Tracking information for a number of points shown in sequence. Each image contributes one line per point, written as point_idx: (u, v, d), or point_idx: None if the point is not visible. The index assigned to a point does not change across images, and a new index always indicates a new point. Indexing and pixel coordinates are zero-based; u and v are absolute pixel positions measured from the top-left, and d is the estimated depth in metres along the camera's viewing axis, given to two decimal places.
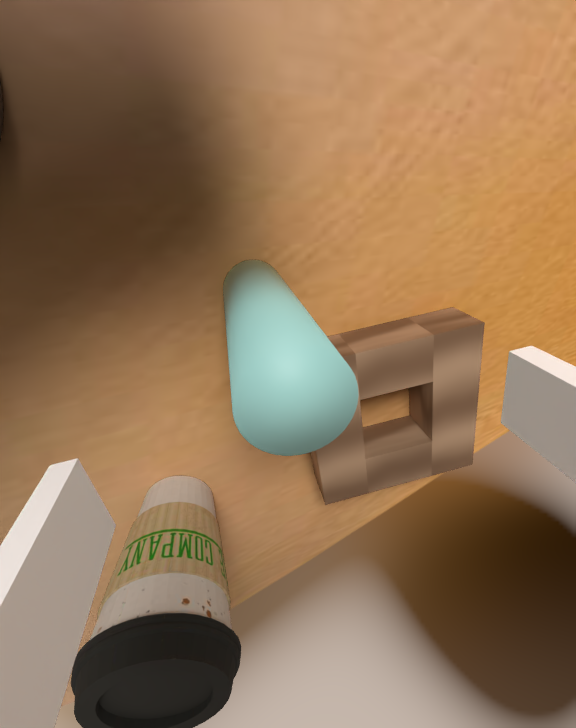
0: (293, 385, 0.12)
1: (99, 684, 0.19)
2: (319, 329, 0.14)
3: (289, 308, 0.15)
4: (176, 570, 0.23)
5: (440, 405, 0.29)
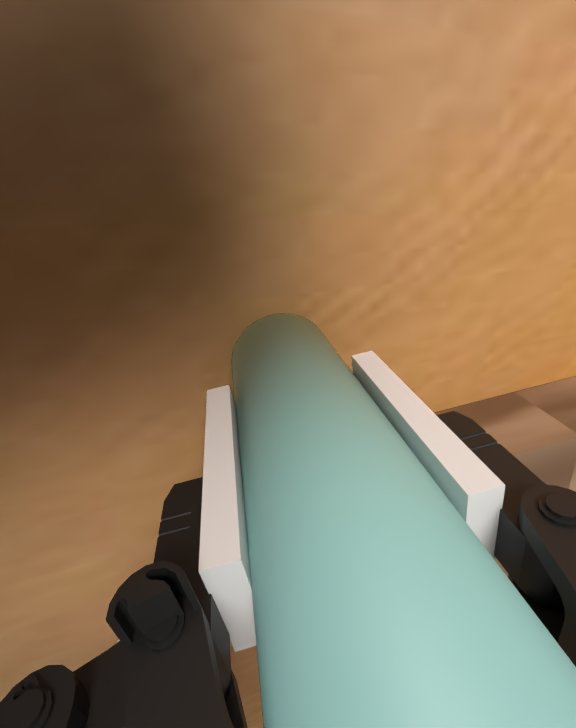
0: None
1: None
2: None
3: (462, 585, 0.05)
4: None
5: None
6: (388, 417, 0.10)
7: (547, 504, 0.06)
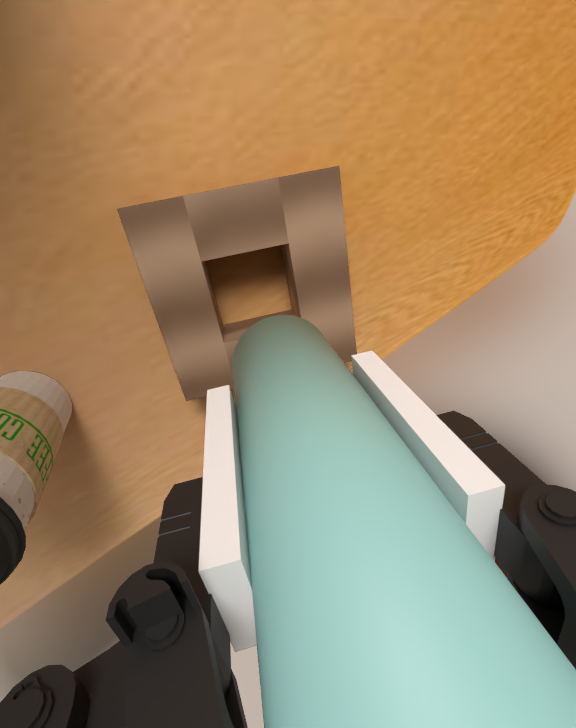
0: None
1: None
2: None
3: (465, 592, 0.05)
4: None
5: (303, 276, 0.26)
6: (388, 417, 0.10)
7: (547, 504, 0.06)
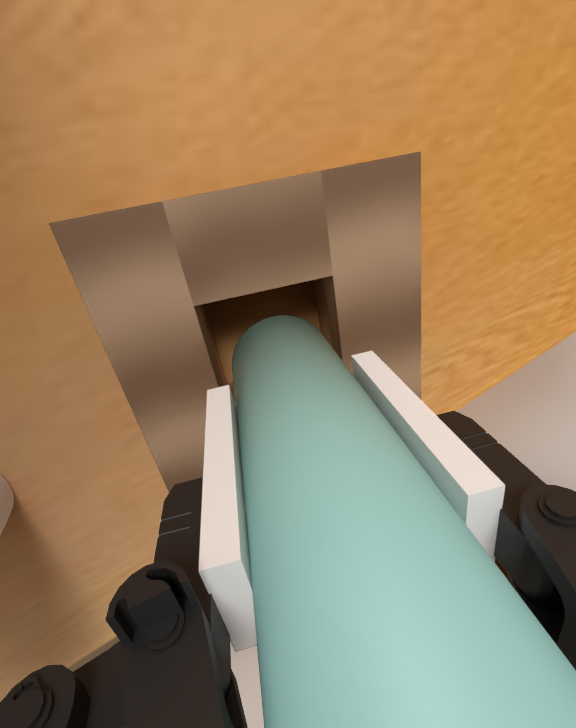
0: None
1: None
2: None
3: (464, 591, 0.05)
4: None
5: (352, 324, 0.17)
6: (388, 417, 0.10)
7: (547, 504, 0.06)
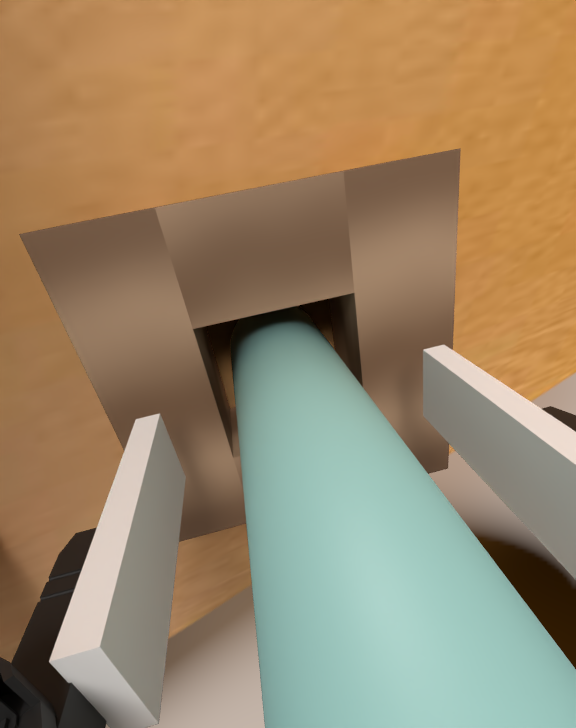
0: None
1: None
2: (489, 561, 0.06)
3: (395, 479, 0.07)
4: None
5: (375, 347, 0.14)
6: (479, 413, 0.10)
7: None
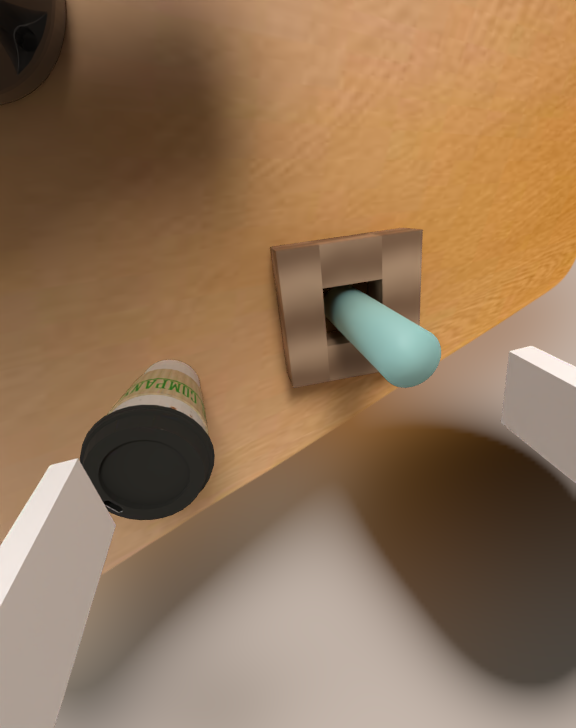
0: (411, 349, 0.25)
1: (104, 443, 0.25)
2: None
3: (397, 313, 0.28)
4: (167, 394, 0.29)
5: (388, 302, 0.36)
6: None
7: None
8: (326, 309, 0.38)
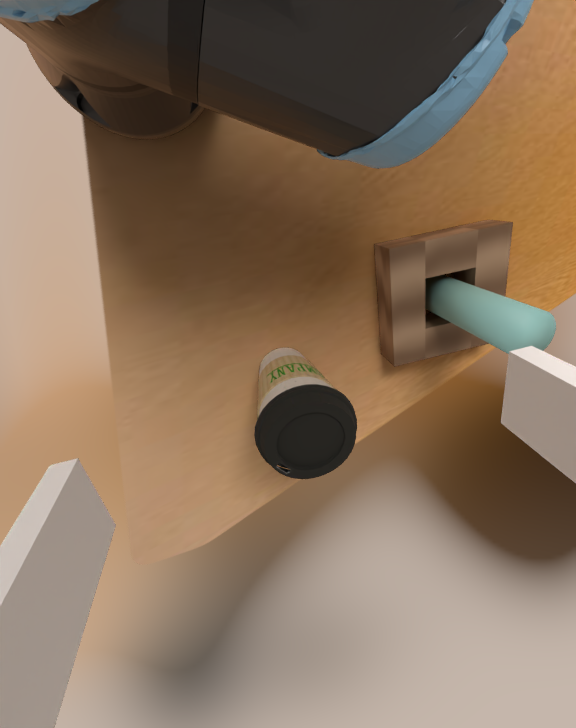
0: (532, 327, 0.30)
1: (284, 416, 0.31)
2: None
3: (508, 298, 0.33)
4: (312, 376, 0.35)
5: (479, 287, 0.41)
6: None
7: None
8: None
